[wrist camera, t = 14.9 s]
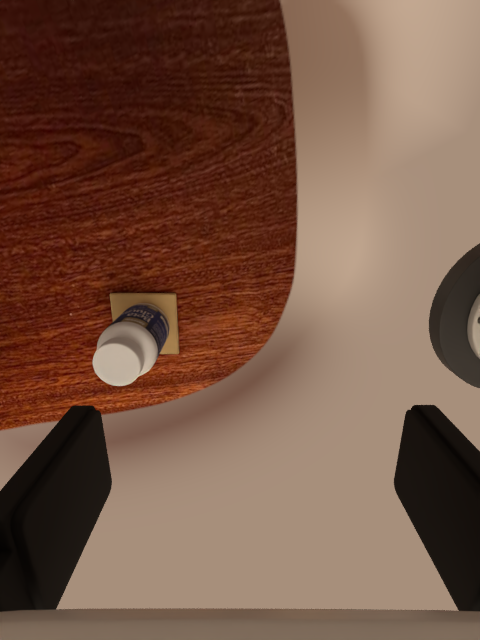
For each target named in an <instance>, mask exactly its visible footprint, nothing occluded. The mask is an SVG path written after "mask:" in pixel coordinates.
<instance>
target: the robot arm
mask: <svg viewBox="0 0 480 640" xmlns="http://www.w3.org/2000/svg"><path fill="white" fill-rule="evenodd" d="M467 334H468V341H469V343H470V346H471V349H472V350H473V352H474V353H475V354H476V356H477V357H478V358H479V359H480V294H479V295H478V297H477V298H476V300H475V302H474V304H473V306H472V308H471V311H470V315H469V318H468V325H467ZM111 485H112V479H111V473H110V467H109V461H108V454H107V449H106V442H105V436H104V430H103V423H102V417H101V413H100V411H98V410H95V408H94V406H72V407H71V408H70V409H69V410H68V412H67V413H66V414H65V415H64V416H63V417H62V419H61V420H60V421H59V422H58V423H57V425H56V426H55V427H54V428H53V429H52V430H51V432H50V433H49V434H48V435H47V436H46V438H45V439H44V440H43V441H42V442H41V444H40V445H39V446H38V447H37V448H36V450H35V451H34V452H33V453H32V454H31V455H30V457H29V458H28V459H27V460H26V461H25V462H24V464H23V465H22V466H21V467H20V468H19V469H18V471H17V472H16V473H15V474H14V475H13V477H12V478H11V479H10V480H9V481H8V482H7V484H6V485H5V486H4V487H3V488H2V490H1V491H0V640H480V451H479V450H478V449H477V448H476V447H475V446H474V445H473V444H472V443H471V442H470V441H469V440H468V439H467V438H466V437H465V436H464V435H463V434H462V433H461V432H460V431H459V429H457V427H455V425H454V424H453V423H452V422H451V421H450V420H449V419H448V418H447V417H446V416H445V415H444V414H443V413H442V412H441V411H440V410H439V409H438V408H437V407H436V406H435V405H414V406H413V407H412V408H411V410H408V411H407V412H406V415H405V420H404V426H403V432H402V437H401V443H400V449H399V455H398V461H397V466H396V472H395V478H394V486H395V490H396V493H397V495H398V497H399V499H400V501H401V503H402V505H403V506H404V508H405V510H406V512H407V514H408V516H409V518H410V520H411V522H412V523H413V525H414V527H415V529H416V531H417V533H418V535H419V537H420V538H421V540H422V542H423V544H424V546H425V548H426V550H427V552H428V553H429V555H430V557H431V559H432V561H433V563H434V565H435V567H436V568H437V570H438V572H439V574H440V576H441V578H442V580H443V582H444V584H445V585H446V587H447V589H448V591H449V593H450V595H451V597H452V599H453V601H454V603H455V604H456V606H457V608H458V610H459V611H445V610H356V609H65V610H64V609H63V610H62V609H59V610H56V608H57V606H58V604H59V601H60V599H61V597H62V595H63V593H64V591H65V589H66V586H67V584H68V582H69V580H70V578H71V575H72V573H73V571H74V569H75V567H76V564H77V562H78V560H79V558H80V556H81V554H82V552H83V549H84V547H85V545H86V543H87V541H88V539H89V536H90V534H91V532H92V530H93V528H94V526H95V524H96V521H97V519H98V517H99V515H100V512H101V511H102V508H103V506H104V504H105V502H106V500H107V498H108V495H109V493H110V490H111Z"/></svg>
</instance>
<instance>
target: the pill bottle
mask: <svg viewBox="0 0 480 640" xmlns="http://www.w3.org/2000/svg"><path fill="white" fill-rule="evenodd" d="M169 331H170V325H169V321H168V318H167V316H166V315H165V314H164V312H163V311H162V310H161V309H159V308H158V307H156V306H154V305H152V304H147V303H139V304H135V305H133V306H131V307H129V308H128V309H126V310H125V311H124V312H123V313H122V314H121V315H120V316H119V317H118V318H117V319H116V320H115V321H114V322H113V323H112V324H111V325H109V326H108V327H107V328H106V329H105V331H104V332H103V333H102V334H101V336H100V338H99V340H98V343H97V351H96V352H95V354H94V357H93V368H94V370H95V372H96V374H97V375H98V377H99V378H100V379H101V380H103V381H104V382H106V383H108V384H110V385H114V386H124V385H128V384H130V383H132V382H133V381H135V380H136V379H137V377H138V376H141V375H143V374H145V373H146V372H148V371H149V370H150V369H151V368H152V366H153V365H154V363H155V362H156V360H157V358H158V356H159V354H160V352H161V350H162V348H163V346H164V344H165V342H166V340H167V338H168V335H169Z"/></svg>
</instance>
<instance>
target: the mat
mask: <svg viewBox="0 0 480 640" xmlns="http://www.w3.org/2000/svg"><path fill="white" fill-rule="evenodd" d="M110 302H111V310H112V318H113V322H114V321H115V320H116V319H117V318H118V317H119V316H120V315H121V314H122V313H123V312H124V311H125V310H126V309H128V308H129V307H131V306H133V305H135V304H139V303H147V304H152V305H154V306H156V307H158V308H159V309H161V310H162V311H163V312H164V314H165V315H166V316H167V318H168V321H169V325H170V331H169V335H168V338H167V340H166V342H165V344H164V346H163V348H162V350H161V352H160V354H179V335H178V316H177V298H176V293H111V294H110Z"/></svg>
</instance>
